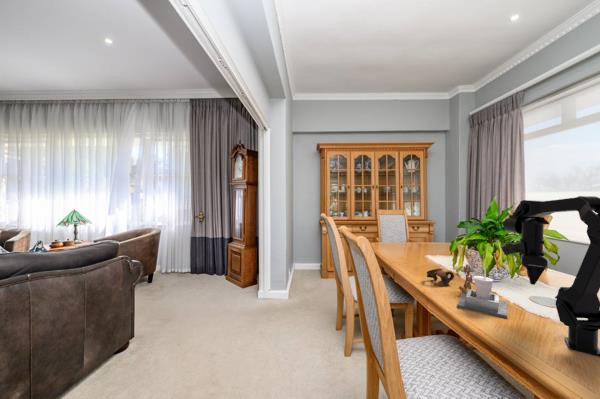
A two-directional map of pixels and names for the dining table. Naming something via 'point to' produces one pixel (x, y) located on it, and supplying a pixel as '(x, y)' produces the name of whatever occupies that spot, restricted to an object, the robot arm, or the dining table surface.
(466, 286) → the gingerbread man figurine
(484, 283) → the smoothie
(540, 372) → the dining table surface
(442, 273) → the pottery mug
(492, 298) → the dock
